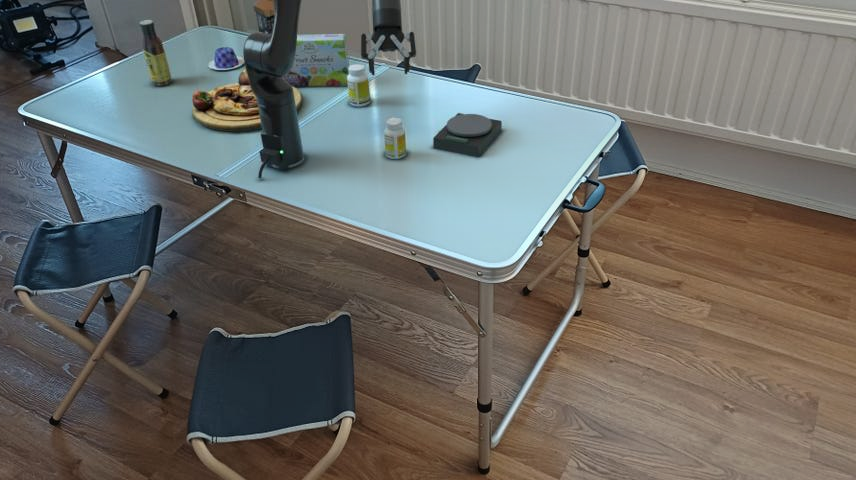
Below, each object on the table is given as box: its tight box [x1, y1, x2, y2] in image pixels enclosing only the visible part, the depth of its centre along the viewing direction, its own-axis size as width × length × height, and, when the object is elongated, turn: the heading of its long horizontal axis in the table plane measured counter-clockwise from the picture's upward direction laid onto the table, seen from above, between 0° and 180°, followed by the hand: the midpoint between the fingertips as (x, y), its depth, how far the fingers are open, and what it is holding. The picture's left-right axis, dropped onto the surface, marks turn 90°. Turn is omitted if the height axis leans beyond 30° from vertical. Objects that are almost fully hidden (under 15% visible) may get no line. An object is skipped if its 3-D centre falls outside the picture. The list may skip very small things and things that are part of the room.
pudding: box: [208, 46, 245, 71], centre depth 242 cm, size 12×12×5 cm
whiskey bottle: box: [252, 0, 275, 34], centre depth 233 cm, size 10×10×32 cm
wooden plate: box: [191, 69, 303, 132], centre depth 213 cm, size 32×32×8 cm
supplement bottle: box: [383, 117, 407, 160], centre depth 187 cm, size 5×5×10 cm
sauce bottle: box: [139, 19, 172, 87], centre depth 227 cm, size 7×6×20 cm
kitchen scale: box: [432, 112, 503, 158], centre depth 194 cm, size 16×13×4 cm
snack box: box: [282, 33, 350, 88], centre depth 224 cm, size 21×6×15 cm, turn 89°
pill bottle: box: [347, 63, 371, 108], centre depth 213 cm, size 6×6×11 cm
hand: (389, 74), depth 189 cm, fingers open, 8 cm apart
